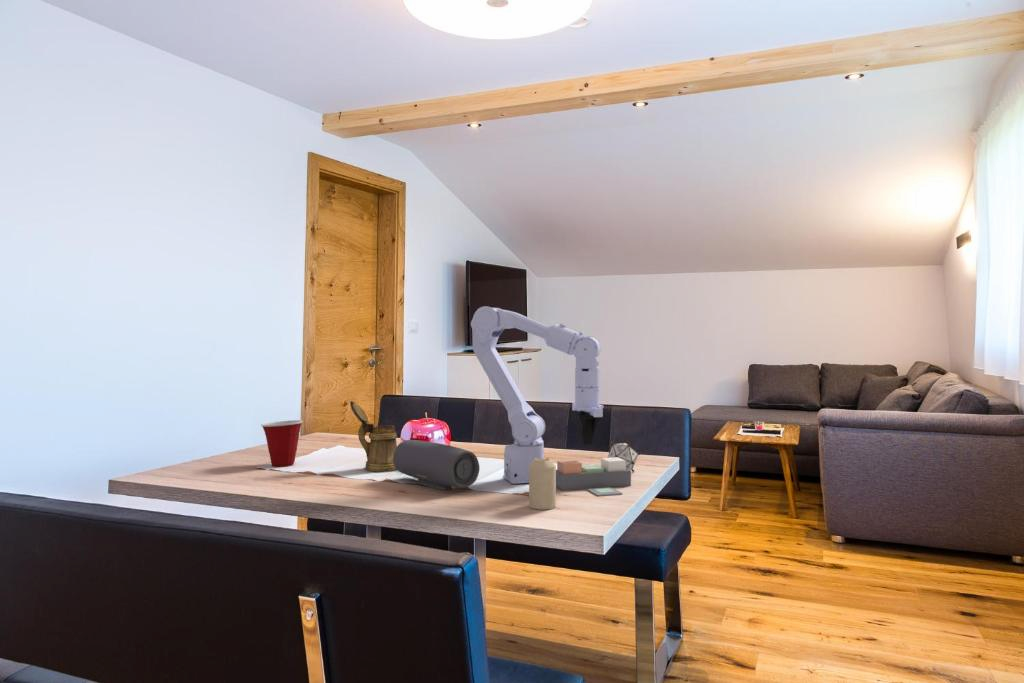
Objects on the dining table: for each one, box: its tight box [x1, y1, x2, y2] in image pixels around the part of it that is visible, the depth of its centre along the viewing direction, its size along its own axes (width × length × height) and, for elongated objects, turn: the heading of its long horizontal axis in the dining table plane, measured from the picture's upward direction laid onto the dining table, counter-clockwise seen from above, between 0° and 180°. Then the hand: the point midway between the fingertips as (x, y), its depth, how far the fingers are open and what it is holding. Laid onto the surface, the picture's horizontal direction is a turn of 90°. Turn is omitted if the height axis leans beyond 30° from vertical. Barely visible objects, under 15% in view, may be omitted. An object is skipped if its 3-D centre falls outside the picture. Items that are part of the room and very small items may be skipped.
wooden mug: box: [349, 400, 398, 473], centre depth 178 cm, size 9×14×18 cm, turn 84°
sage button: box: [582, 464, 604, 473], centre depth 158 cm, size 4×4×3 cm
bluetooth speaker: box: [393, 439, 480, 490], centre depth 159 cm, size 23×9×10 cm, turn 44°
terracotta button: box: [556, 459, 583, 474], centre depth 157 cm, size 4×4×3 cm
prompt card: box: [586, 487, 623, 497], centre depth 151 cm, size 6×6×1 cm
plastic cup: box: [260, 419, 304, 468], centre depth 183 cm, size 11×11×12 cm
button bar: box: [556, 469, 632, 491], centre depth 158 cm, size 17×6×4 cm, turn 106°
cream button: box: [600, 457, 626, 472], centre depth 160 cm, size 4×4×3 cm
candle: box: [528, 457, 557, 511], centre depth 139 cm, size 6×6×10 cm
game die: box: [606, 439, 642, 473], centre depth 173 cm, size 9×8×10 cm
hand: (586, 444), depth 160 cm, fingers closed
